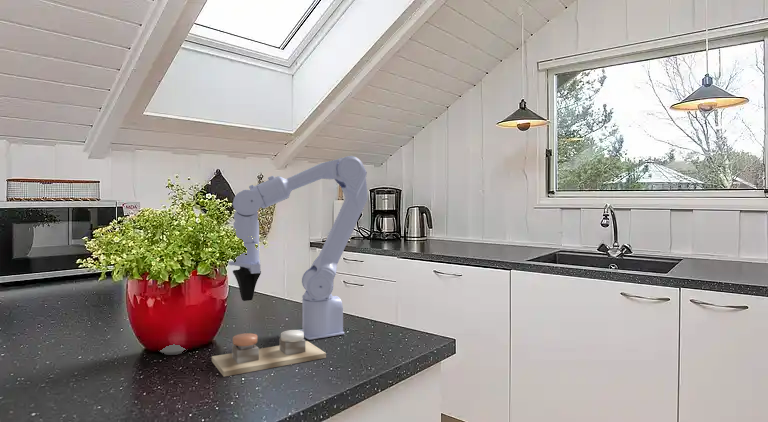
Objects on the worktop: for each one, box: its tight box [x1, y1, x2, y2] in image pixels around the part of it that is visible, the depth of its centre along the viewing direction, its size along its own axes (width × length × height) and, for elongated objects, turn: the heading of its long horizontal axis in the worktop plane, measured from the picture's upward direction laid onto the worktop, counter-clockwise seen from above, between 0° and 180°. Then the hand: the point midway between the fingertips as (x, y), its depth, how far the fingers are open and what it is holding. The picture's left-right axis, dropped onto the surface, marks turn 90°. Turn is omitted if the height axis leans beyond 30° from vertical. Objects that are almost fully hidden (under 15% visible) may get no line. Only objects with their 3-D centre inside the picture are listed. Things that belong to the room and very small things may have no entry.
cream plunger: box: [280, 329, 305, 342], centre depth 107 cm, size 5×5×4 cm
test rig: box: [211, 337, 327, 377], centre depth 105 cm, size 21×10×4 cm, turn 121°
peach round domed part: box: [232, 332, 258, 350], centre depth 102 cm, size 5×5×4 cm
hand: (247, 300), depth 118 cm, fingers closed
